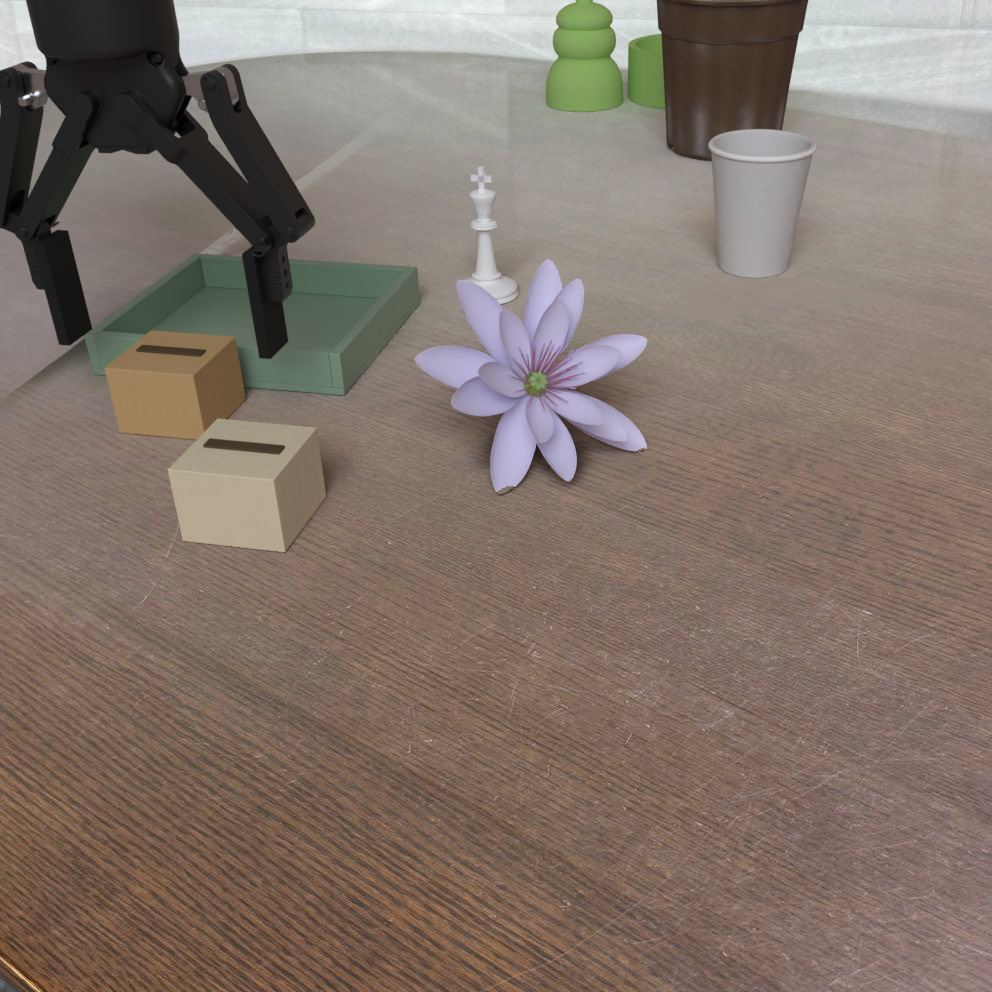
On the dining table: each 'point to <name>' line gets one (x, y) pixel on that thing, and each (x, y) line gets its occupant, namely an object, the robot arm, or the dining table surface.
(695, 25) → the plant pot
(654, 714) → the dining table surface
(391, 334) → the tray
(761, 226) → the dixie cup
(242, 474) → the beige slotted box
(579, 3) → the green stacking toy
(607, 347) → the water lily
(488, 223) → the chess piece
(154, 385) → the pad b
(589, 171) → the dining table surface
